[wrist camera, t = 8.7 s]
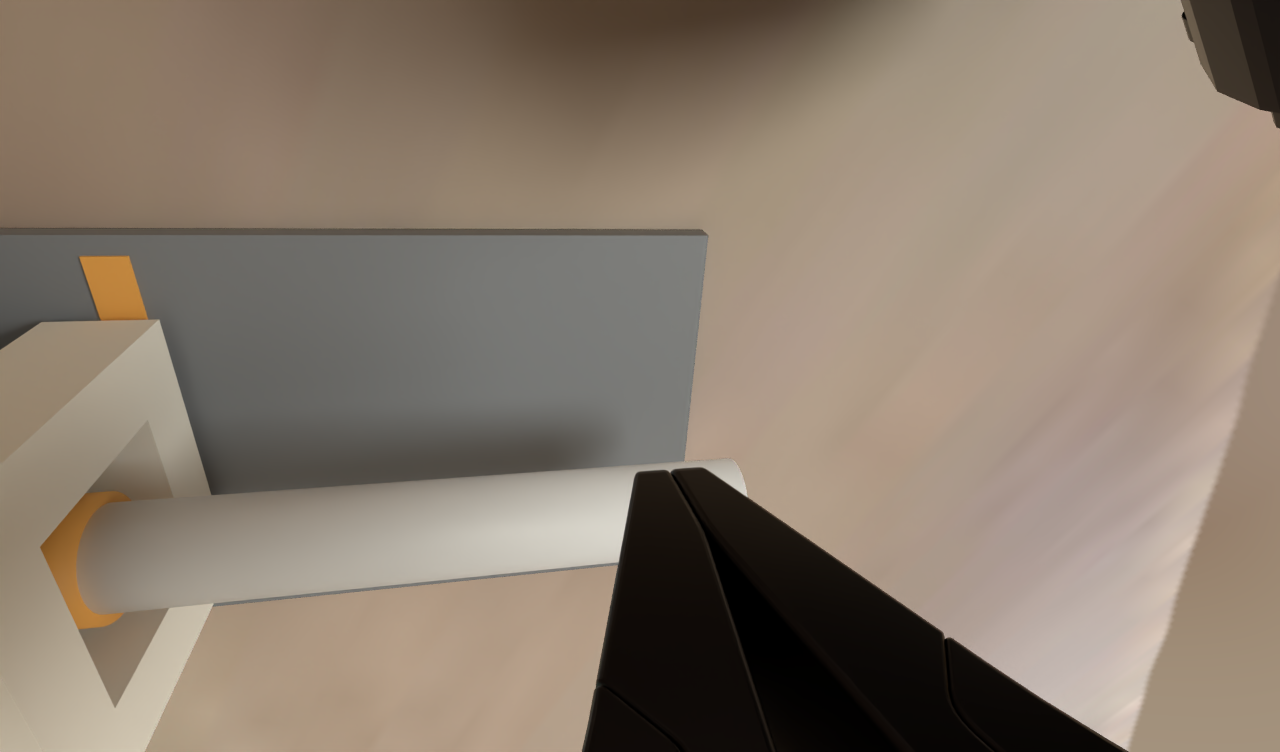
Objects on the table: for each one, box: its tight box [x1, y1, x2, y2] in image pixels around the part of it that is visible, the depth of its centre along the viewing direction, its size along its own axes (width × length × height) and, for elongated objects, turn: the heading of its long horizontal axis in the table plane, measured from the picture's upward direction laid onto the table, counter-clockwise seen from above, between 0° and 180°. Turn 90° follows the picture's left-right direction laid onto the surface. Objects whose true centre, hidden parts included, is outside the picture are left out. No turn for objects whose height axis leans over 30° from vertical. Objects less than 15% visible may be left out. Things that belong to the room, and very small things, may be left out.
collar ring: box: [0, 319, 214, 752], centre depth 15 cm, size 2×8×8 cm, turn 177°
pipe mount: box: [0, 228, 747, 629], centre depth 16 cm, size 24×12×8 cm, turn 86°
